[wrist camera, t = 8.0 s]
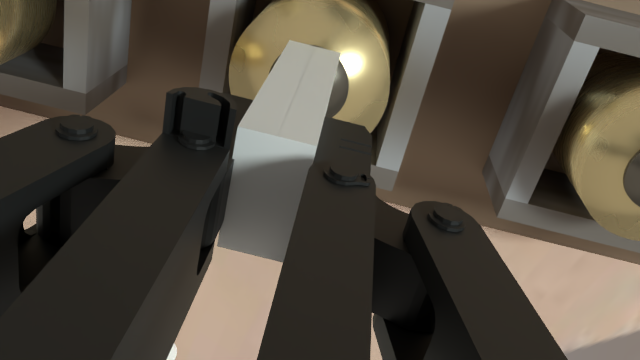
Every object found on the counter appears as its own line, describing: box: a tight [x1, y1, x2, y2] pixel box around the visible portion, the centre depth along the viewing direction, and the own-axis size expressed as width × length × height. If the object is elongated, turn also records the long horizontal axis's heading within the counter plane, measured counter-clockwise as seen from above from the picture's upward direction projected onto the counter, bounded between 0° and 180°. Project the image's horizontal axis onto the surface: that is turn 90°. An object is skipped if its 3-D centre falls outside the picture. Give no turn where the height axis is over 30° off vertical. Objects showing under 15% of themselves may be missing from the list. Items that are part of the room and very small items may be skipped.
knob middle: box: [229, 0, 390, 133], centre depth 19 cm, size 5×5×5 cm
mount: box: [0, 0, 640, 265], centre depth 22 cm, size 12×32×8 cm, turn 77°
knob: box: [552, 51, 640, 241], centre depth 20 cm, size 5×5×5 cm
